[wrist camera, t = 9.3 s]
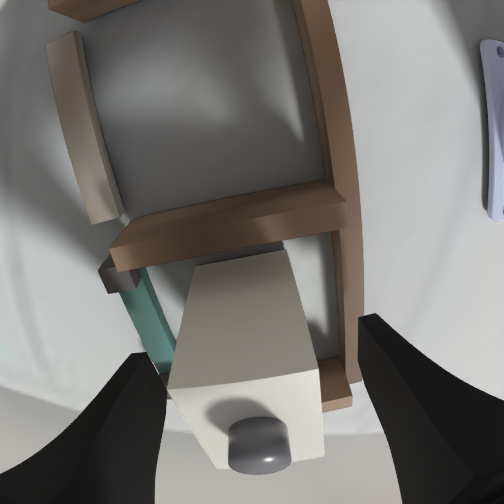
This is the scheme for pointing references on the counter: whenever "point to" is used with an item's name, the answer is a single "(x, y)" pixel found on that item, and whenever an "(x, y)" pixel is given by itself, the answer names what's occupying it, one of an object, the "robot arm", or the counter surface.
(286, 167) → the counter surface
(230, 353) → the plug
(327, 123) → the slot rack
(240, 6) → the counter surface
